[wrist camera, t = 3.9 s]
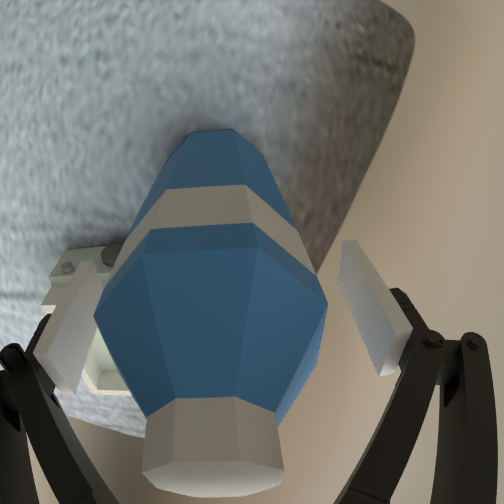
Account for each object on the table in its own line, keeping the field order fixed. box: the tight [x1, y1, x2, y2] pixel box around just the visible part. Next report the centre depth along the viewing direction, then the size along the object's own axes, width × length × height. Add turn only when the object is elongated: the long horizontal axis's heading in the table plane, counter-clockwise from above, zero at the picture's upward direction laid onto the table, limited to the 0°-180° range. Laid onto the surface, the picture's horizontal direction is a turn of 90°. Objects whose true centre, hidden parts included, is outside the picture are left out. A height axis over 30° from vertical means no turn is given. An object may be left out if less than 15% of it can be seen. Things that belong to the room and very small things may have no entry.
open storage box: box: [41, 242, 132, 396], centre depth 32 cm, size 17×14×8 cm
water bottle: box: [93, 129, 328, 497], centre depth 18 cm, size 9×9×25 cm
